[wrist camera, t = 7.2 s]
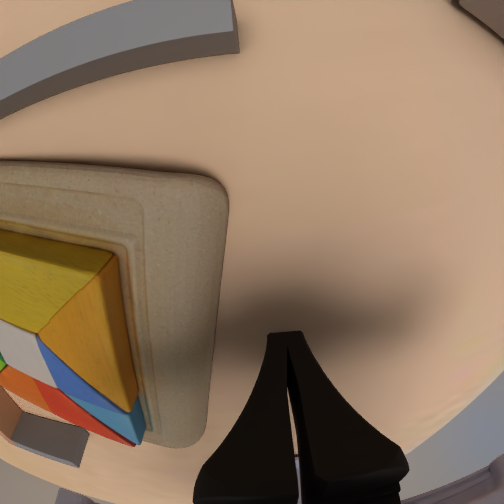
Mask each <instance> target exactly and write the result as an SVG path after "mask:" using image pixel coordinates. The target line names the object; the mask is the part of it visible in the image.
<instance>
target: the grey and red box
mask: <svg viewBox="0 0 504 504" xmlns="http://www.w3.org/2000/svg"><path fill="white" fill-rule="evenodd" d="M459 4H460V5H461V6H462V7H463V8H464V9H466V10H467V11H468V12H470V13H471V14H473V15H474V16H475V17H477V18H478V19H479V20H481V21H482V22H483V23H485V24H486V25H487V26H488V27H490V28H491V29H492V30H493V31H495V32H496V33H497V34H498V35H499V36H501V37H502V38H503V39H504V0H459Z"/></svg>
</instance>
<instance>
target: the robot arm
mask: <svg viewBox="0 0 504 504" xmlns="http://www.w3.org/2000/svg"><path fill="white" fill-rule="evenodd" d="M287 387H288V392H289V397H290V402H291V408H292V413H293V418H294V423H295V428H296V435H297V444H298V456H299V457H295V455H294V447H293V439H292V431H291V423H290V414H289V405H288V397H287ZM408 472H409V465H408V462H407V460H406V457H405V455H404V453H403V451H402V449H401V448H400V446H398V445H397V444H395V443H394V442H393V441H391V440H390V439H388V438H387V437H386V436H384V435H383V434H381V433H380V432H379V431H378V430H376V429H375V428H374V427H373V426H372V425H370V424H369V423H368V422H367V421H366V420H365V419H364V418H363V417H362V416H361V415H360V414H358V413H357V412H356V411H355V410H354V409H353V408H352V406H351V405H350V404H349V403H348V402H347V401H346V400H345V399H344V398H343V397H342V395H341V394H340V393H339V392H338V391H337V389H336V388H335V387H334V385H333V384H332V383H331V381H330V380H329V379H328V377H327V376H326V374H325V373H324V371H323V370H322V368H321V367H320V365H319V364H318V362H317V360H316V359H315V357H314V355H313V354H312V352H311V350H310V348H309V346H308V344H307V342H306V340H305V337H304V335H303V332H301V331H290V332H277V333H269V334H268V335H267V346H266V352H265V356H264V360H263V363H262V366H261V370H260V373H259V376H258V378H257V381H256V383H255V386H254V388H253V391H252V393H251V395H250V397H249V399H248V401H247V403H246V405H245V407H244V409H243V411H242V413H241V415H240V416H239V418H238V420H237V421H236V423H235V425H234V426H233V428H232V429H231V431H230V432H229V434H228V435H227V436H226V438H225V439H224V440H223V442H222V443H221V445H220V446H219V447H218V448H217V450H216V451H215V452H214V453H213V454H212V456H211V457H210V458H209V459H208V460H207V461H206V462H205V464H204V465H203V466H202V468H201V470H200V472H199V475H198V477H197V480H196V483H195V487H194V493H193V503H194V504H504V454H502V455H500V456H499V457H497V458H496V459H495V460H494V461H492V462H491V463H490V464H489V465H488V466H486V467H484V468H482V469H480V470H478V471H476V472H474V473H472V474H470V475H468V476H465V477H463V478H461V479H459V480H456V481H454V482H452V483H449V484H447V485H444V486H442V487H439V488H437V489H434V490H431V491H428V492H426V493H423V494H420V495H417V496H414V497H411V498H408V499H405V500H401V501H400V497H399V492H400V490H401V489H400V485H399V481H401V480H402V479H403V478H404V477H405V476H406V474H407V473H408ZM55 504H99V503H95V502H94V501H93V500H91V499H90V498H88V497H86V496H83V495H81V494H78V493H74V492H72V491H69V490H66V489H63V488H59V491H58V495H57V498H56V502H55Z"/></svg>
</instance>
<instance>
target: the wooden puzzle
mask: <svg viewBox="0 0 504 504" xmlns="http://www.w3.org/2000/svg"><path fill="white" fill-rule="evenodd" d="M228 214H229V201H228V196H227V193H226V192H225V190H224V188H223V187H222V186H221V184H219V183H218V182H217V181H215V180H213V179H211V178H208V177H205V176H202V175H195V174H187V173H170V172H157V171H149V170H140V169H131V168H121V167H110V166H98V165H85V164H71V163H53V162H32V161H0V385H1V386H2V387H4V388H6V389H7V390H9V391H11V392H12V393H14V394H16V395H18V396H19V397H21V398H23V399H25V400H27V401H29V402H31V403H33V404H35V405H37V406H39V407H41V408H43V409H45V410H47V411H49V412H52V413H54V414H55V415H57V416H59V417H61V418H63V419H65V420H67V421H69V422H71V423H73V424H76V425H78V426H80V427H82V428H85V429H87V430H89V431H92V432H94V433H97V434H99V435H101V436H104V437H106V438H109V439H111V440H114V441H117V442H120V443H122V444H125V445H128V446H131V447H135V445H136V444H137V445H140V444H141V442H142V441H146V442H149V443H153V444H157V445H161V446H165V447H169V448H185V447H189V446H191V445H193V444H195V443H196V442H197V441H198V440H199V439H200V438H201V437H202V435H203V433H204V431H205V427H206V421H207V410H208V399H209V389H210V379H211V368H212V358H213V349H214V339H215V329H216V320H217V311H218V302H219V293H220V284H221V276H222V267H223V259H224V250H225V241H226V232H227V223H228Z"/></svg>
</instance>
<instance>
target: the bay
mask: <svg viewBox="0 0 504 504" xmlns="http://www.w3.org/2000/svg"><path fill="white" fill-rule="evenodd" d="M234 53H239V42H238V31H237V20H236V14H235V9H234V5H233V0H133V1H129V2H126V3H123V4H119V5H116V6H113V7H110V8H107V9H104V10H101V11H99V12H96V13H93V14H90V15H88V16H85V17H83V18H80V19H78V20H75V21H73V22H70V23H68V24H66V25H64V26H61V27H59V28H57V29H55V30H53V31H50V32H48V33H46V34H44V35H42V36H40V37H38V38H36V39H34V40H32V41H31V42H29V43H27V44H25V45H23V46H21V47H20V48H18V49H16V50H14V51H13V52H11V53H9V54H7V55H6V56H4V57H3V58H1V59H0V119H2V118H4V117H6V116H8V115H10V114H12V113H14V112H16V111H18V110H20V109H23V108H25V107H27V106H29V105H32V104H34V103H36V102H39V101H41V100H43V99H46V98H48V97H51V96H54V95H56V94H59V93H61V92H64V91H67V90H70V89H72V88H75V87H78V86H81V85H84V84H87V83H90V82H94V81H97V80H100V79H103V78H107V77H110V76H114V75H118V74H121V73H125V72H129V71H133V70H137V69H141V68H146V67H150V66H155V65H160V64H165V63H170V62H175V61H181V60H187V59H194V58H200V57H208V56H215V55H224V54H234ZM0 435H1V436H2V437H3V438H5V439H6V440H7V441H8V442H9V443H11V444H13V445H15V446H17V447H20V448H22V449H25V450H27V451H30V452H32V453H35V454H38V455H40V456H43V457H46V458H49V459H52V460H55V461H58V462H61V463H64V464H67V465H70V466H74V467H77V468H79V467H80V463H81V460H82V456H83V453H84V450H85V447H86V444H87V441H88V437H89V434H88V433H87V431H86V430H85V429H84V428H82V427H78V426H74V425H69V424H65V423H61V422H57V421H53V420H50V419H46V418H42V417H39V416H35V415H32V414H29V413H26V412H23V411H22V410H21V409H20V408H19V407H18V406H17V405H16V404H15V402H14V401H13V400H12V399H11V398H10V397H9V395H8V394H7V393H6V392H5V391H4V389H3V388H2V387H1V386H0Z"/></svg>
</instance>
